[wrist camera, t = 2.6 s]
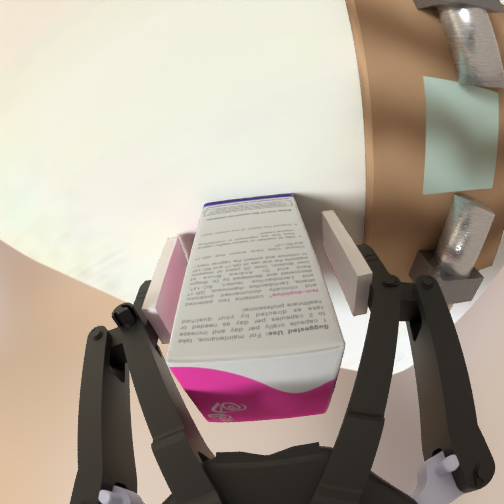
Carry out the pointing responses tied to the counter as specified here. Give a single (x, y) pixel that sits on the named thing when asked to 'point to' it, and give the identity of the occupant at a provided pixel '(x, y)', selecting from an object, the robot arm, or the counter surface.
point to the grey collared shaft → (470, 39)
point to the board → (423, 132)
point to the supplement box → (255, 316)
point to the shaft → (457, 250)
